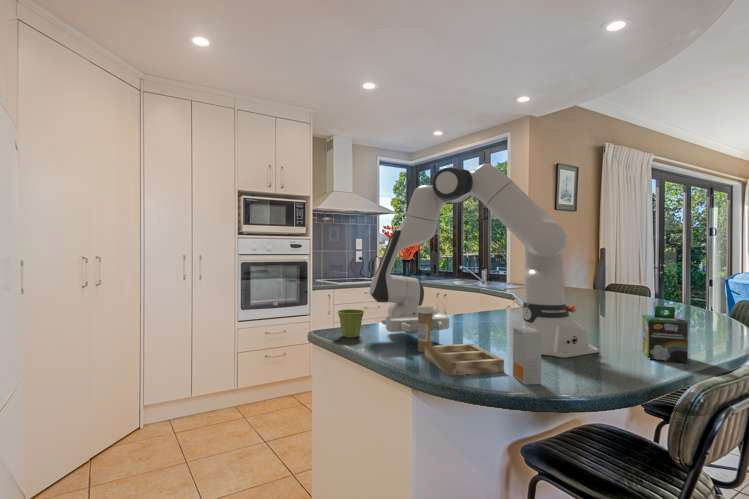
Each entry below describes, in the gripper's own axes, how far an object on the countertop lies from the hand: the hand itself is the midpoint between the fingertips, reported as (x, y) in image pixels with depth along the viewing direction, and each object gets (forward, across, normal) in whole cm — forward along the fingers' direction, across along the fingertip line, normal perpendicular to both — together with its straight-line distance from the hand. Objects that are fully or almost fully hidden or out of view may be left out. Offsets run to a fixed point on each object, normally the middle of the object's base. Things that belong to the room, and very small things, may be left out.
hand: (425, 328), depth 116 cm
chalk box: (+21, +64, +7) cm, 68 cm away
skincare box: (+29, +14, +7) cm, 33 cm away
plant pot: (-24, -18, +7) cm, 31 cm away
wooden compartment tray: (+14, +5, +7) cm, 16 cm away
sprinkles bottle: (0, 0, +7) cm, 7 cm away
